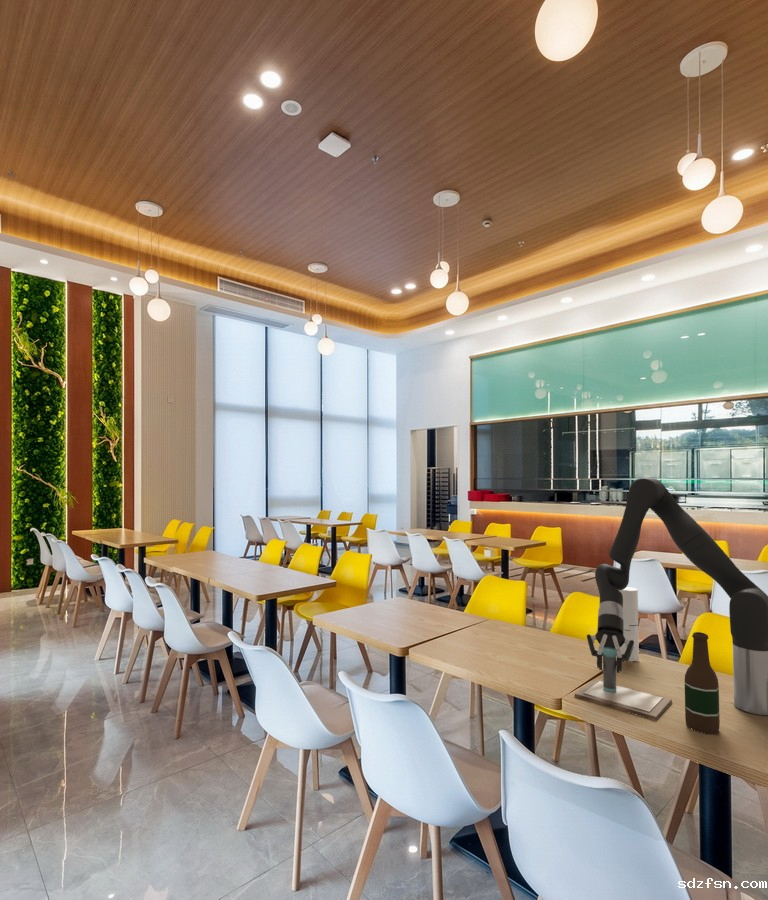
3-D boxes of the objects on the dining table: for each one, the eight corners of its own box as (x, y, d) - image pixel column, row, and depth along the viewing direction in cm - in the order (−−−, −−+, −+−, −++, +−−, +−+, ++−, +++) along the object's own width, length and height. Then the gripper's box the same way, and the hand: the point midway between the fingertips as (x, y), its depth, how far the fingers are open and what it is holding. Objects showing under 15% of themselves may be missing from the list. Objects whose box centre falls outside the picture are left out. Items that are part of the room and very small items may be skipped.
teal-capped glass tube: (618, 690, 156) (618, 649, 157) (614, 693, 153) (613, 651, 154) (605, 686, 159) (605, 646, 159) (601, 690, 156) (600, 648, 157)
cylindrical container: (642, 662, 186) (641, 590, 187) (622, 661, 186) (621, 590, 187) (633, 655, 193) (632, 586, 194) (613, 655, 193) (612, 586, 194)
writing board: (671, 702, 151) (671, 698, 151) (656, 720, 139) (655, 715, 139) (594, 682, 166) (594, 678, 166) (574, 696, 154) (574, 692, 154)
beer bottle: (715, 723, 138) (713, 631, 139) (724, 737, 130) (721, 639, 132) (682, 719, 140) (680, 628, 142) (688, 731, 133) (686, 635, 134)
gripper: (585, 610, 167) (582, 660, 155) (635, 615, 161) (635, 668, 149) (587, 623, 171) (584, 672, 160) (635, 628, 165) (636, 680, 153)
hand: (609, 670), depth 154 cm, fingers open, 4 cm apart
